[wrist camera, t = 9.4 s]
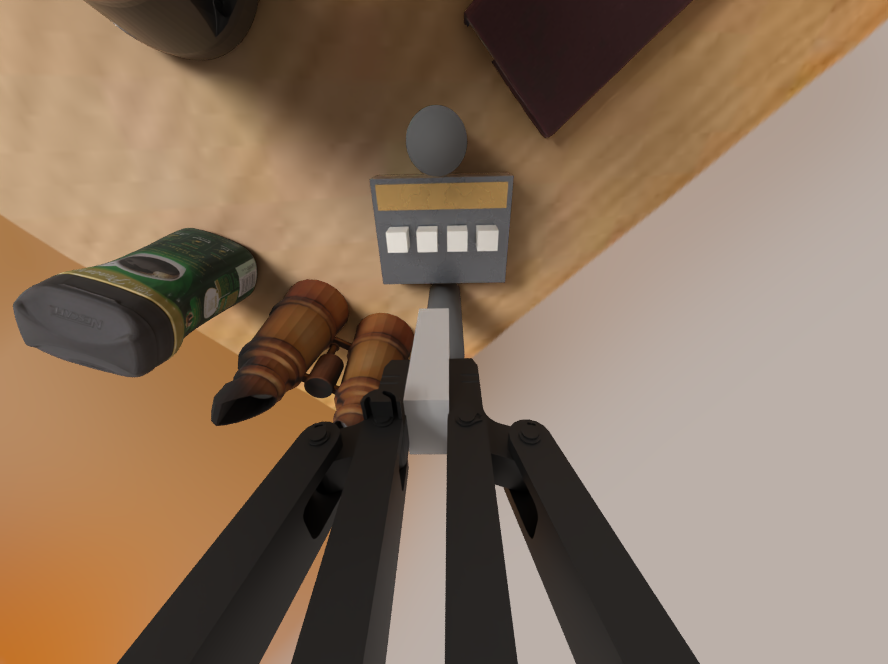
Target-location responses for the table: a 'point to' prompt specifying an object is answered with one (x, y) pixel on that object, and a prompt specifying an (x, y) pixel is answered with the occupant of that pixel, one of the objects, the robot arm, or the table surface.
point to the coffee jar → (136, 302)
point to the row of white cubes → (429, 238)
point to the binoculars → (312, 356)
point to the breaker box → (443, 224)
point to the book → (564, 47)
